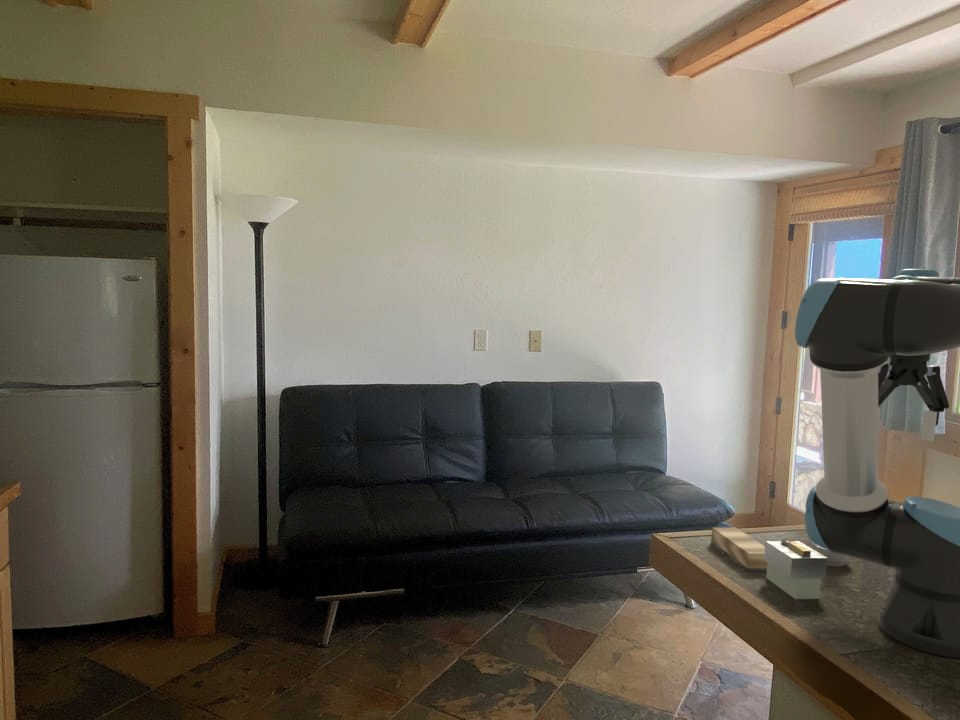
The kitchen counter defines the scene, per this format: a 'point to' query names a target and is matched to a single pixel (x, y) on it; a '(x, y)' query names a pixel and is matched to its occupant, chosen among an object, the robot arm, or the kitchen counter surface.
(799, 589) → the block
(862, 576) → the kitchen counter surface
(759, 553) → the plane body
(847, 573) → the kitchen counter surface
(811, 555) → the lever cap
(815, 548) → the potion bottle
